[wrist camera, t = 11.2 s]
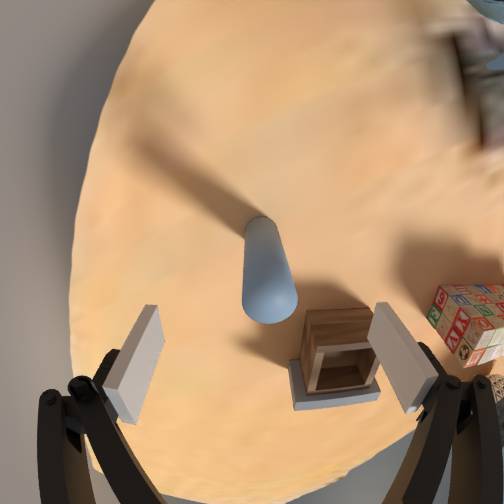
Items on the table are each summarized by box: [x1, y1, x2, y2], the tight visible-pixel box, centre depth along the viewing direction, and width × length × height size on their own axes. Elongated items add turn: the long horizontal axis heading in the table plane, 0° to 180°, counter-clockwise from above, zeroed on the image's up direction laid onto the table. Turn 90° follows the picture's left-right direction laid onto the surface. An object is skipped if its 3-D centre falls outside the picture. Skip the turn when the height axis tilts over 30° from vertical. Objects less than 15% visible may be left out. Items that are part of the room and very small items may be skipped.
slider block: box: [299, 308, 380, 396], centre depth 33 cm, size 9×9×7 cm
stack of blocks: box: [427, 285, 504, 368], centre depth 30 cm, size 21×6×12 cm, turn 87°
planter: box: [485, 374, 504, 449], centre depth 36 cm, size 20×20×21 cm
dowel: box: [242, 217, 298, 324], centre depth 24 cm, size 4×4×14 cm
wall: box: [288, 360, 381, 411], centre depth 35 cm, size 2×12×8 cm, turn 90°
